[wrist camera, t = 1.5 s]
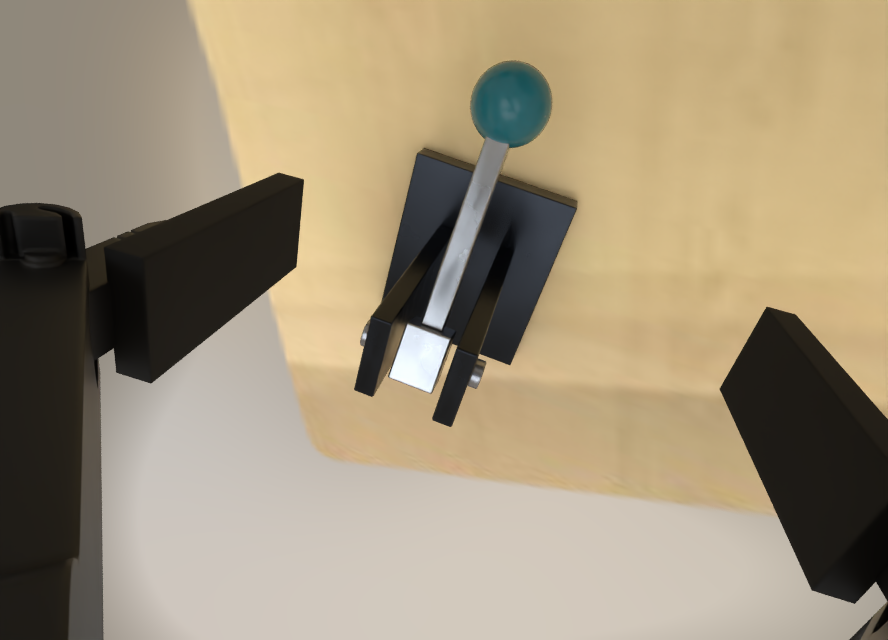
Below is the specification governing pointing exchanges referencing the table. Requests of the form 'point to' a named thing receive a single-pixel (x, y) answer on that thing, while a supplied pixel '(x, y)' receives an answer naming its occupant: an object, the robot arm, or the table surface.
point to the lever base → (485, 280)
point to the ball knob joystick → (473, 209)
